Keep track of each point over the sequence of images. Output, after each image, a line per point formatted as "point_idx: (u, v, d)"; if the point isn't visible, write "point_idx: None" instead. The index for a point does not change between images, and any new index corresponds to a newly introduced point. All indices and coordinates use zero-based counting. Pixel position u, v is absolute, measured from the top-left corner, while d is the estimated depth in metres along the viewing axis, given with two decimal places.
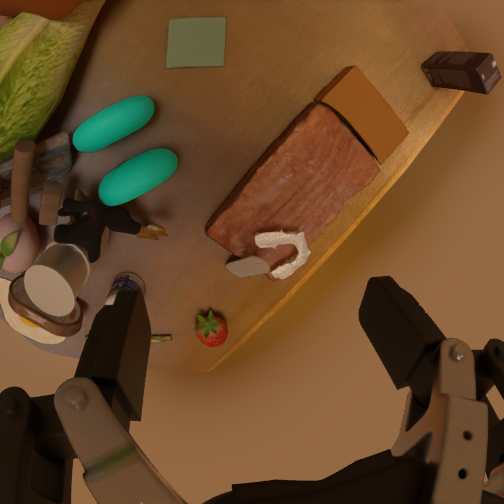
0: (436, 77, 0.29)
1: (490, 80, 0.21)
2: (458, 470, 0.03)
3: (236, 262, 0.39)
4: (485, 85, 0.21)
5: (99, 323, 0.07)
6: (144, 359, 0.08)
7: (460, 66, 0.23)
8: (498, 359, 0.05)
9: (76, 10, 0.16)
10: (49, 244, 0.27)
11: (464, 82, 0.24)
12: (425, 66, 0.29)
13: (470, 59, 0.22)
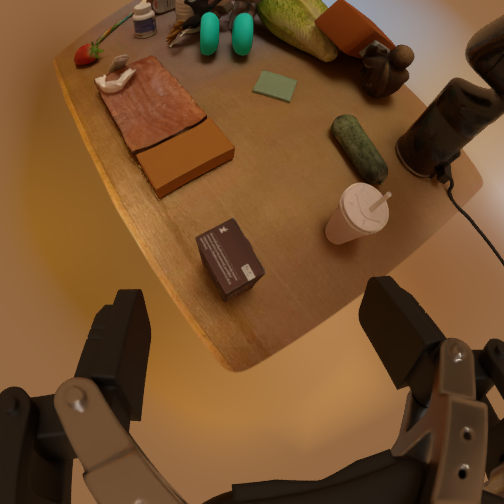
0: None
1: (219, 249, 0.25)
2: (458, 470, 0.03)
3: (124, 63, 0.41)
4: (210, 233, 0.25)
5: (99, 323, 0.07)
6: (144, 359, 0.08)
7: None
8: (498, 359, 0.05)
9: (319, 37, 0.44)
10: None
11: None
12: None
13: None
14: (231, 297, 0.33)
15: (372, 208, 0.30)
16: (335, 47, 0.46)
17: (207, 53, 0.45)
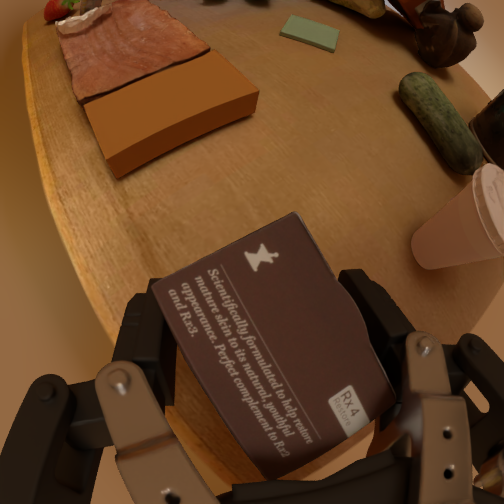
0: None
1: (246, 339, 0.06)
2: (443, 471, 0.03)
3: (99, 4, 0.22)
4: (208, 270, 0.06)
5: (132, 310, 0.08)
6: (174, 346, 0.09)
7: None
8: (471, 354, 0.06)
9: None
10: None
11: None
12: None
13: None
14: None
15: None
16: (383, 1, 0.27)
17: None
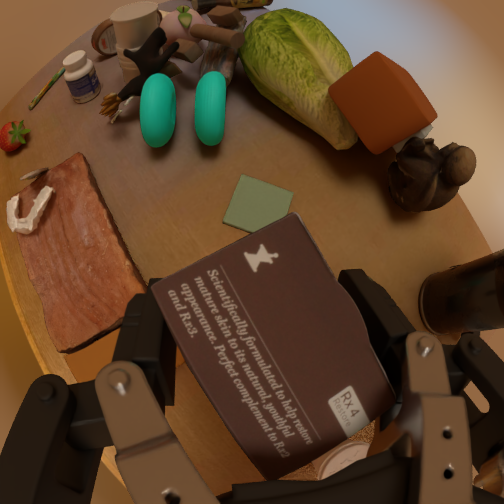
0: None
1: (245, 340, 0.06)
2: (443, 471, 0.03)
3: (43, 168, 0.29)
4: (208, 271, 0.06)
5: (132, 310, 0.08)
6: (174, 346, 0.09)
7: None
8: (471, 355, 0.06)
9: (333, 113, 0.32)
10: None
11: None
12: None
13: None
14: None
15: None
16: None
17: None
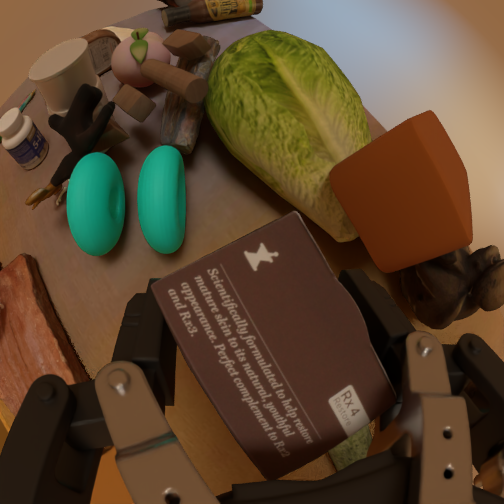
0: None
1: (246, 339, 0.06)
2: (443, 471, 0.03)
3: None
4: (208, 270, 0.06)
5: (132, 310, 0.08)
6: (174, 346, 0.09)
7: None
8: (472, 354, 0.06)
9: (336, 200, 0.25)
10: (98, 83, 0.23)
11: None
12: None
13: None
14: None
15: None
16: None
17: None
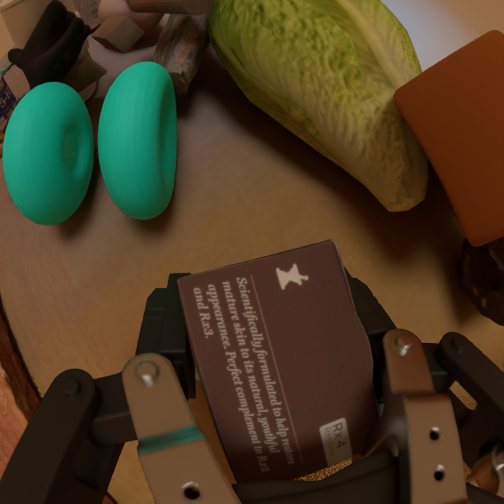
0: None
1: (257, 352, 0.06)
2: (433, 474, 0.03)
3: None
4: (237, 278, 0.06)
5: (153, 304, 0.08)
6: None
7: None
8: (454, 354, 0.06)
9: (395, 146, 0.15)
10: (76, 15, 0.13)
11: None
12: None
13: None
14: None
15: None
16: (427, 172, 0.17)
17: (56, 223, 0.16)
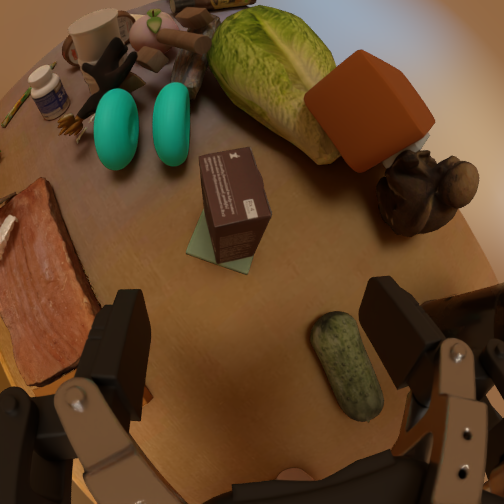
0: None
1: (222, 175, 0.20)
2: (458, 470, 0.03)
3: None
4: (217, 155, 0.20)
5: (99, 322, 0.07)
6: (144, 359, 0.08)
7: None
8: (498, 359, 0.05)
9: (312, 123, 0.29)
10: None
11: None
12: None
13: None
14: (225, 256, 0.27)
15: None
16: None
17: None
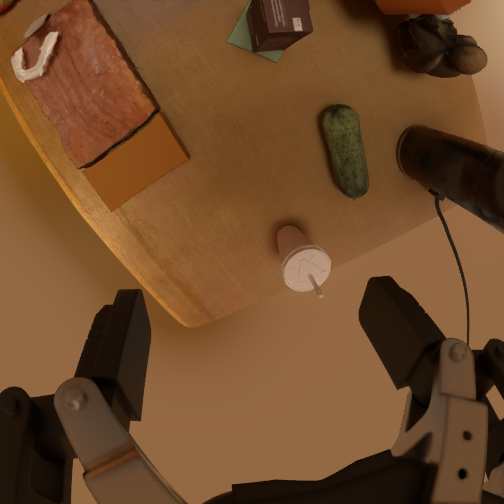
0: None
1: None
2: (458, 470, 0.03)
3: (44, 16, 0.18)
4: None
5: (99, 323, 0.07)
6: (144, 359, 0.08)
7: None
8: (498, 359, 0.05)
9: None
10: None
11: None
12: None
13: None
14: (263, 48, 0.26)
15: (309, 279, 0.34)
16: None
17: None
